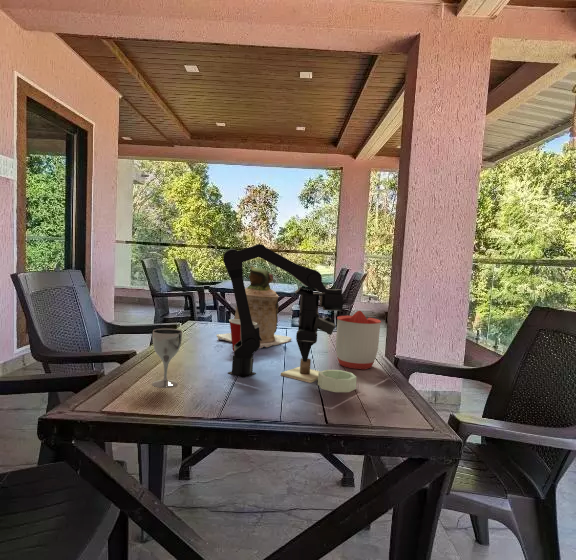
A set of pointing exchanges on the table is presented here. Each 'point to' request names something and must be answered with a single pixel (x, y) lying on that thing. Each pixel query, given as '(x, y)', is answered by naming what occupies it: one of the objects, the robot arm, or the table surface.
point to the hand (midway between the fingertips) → (305, 358)
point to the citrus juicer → (357, 340)
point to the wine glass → (166, 351)
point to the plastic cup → (236, 331)
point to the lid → (302, 372)
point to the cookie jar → (262, 308)
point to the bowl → (337, 381)
